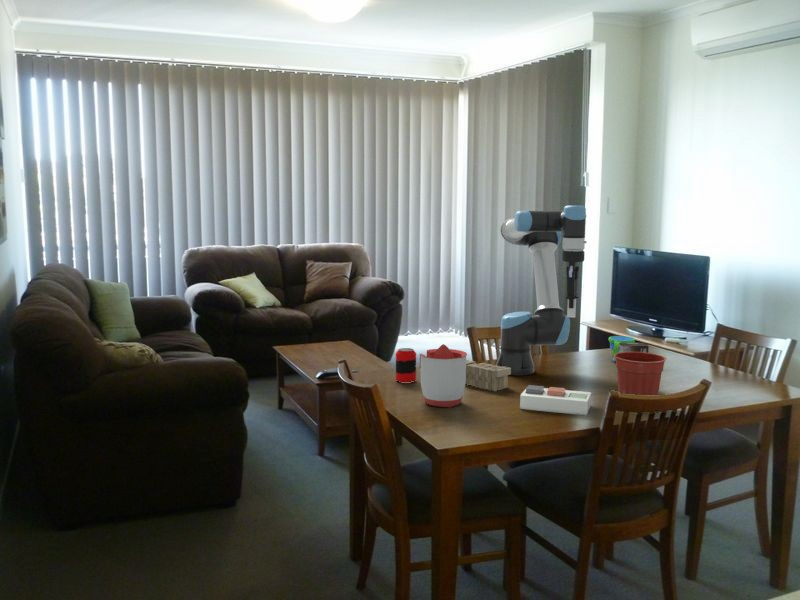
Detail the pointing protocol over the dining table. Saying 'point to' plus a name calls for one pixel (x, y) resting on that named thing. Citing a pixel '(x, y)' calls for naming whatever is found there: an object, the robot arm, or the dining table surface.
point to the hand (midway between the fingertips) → (571, 317)
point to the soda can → (405, 365)
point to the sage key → (578, 396)
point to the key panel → (556, 402)
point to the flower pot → (639, 372)
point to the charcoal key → (535, 389)
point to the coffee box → (633, 347)
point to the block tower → (487, 375)
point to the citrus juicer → (443, 376)
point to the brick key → (556, 391)
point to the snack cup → (615, 344)
